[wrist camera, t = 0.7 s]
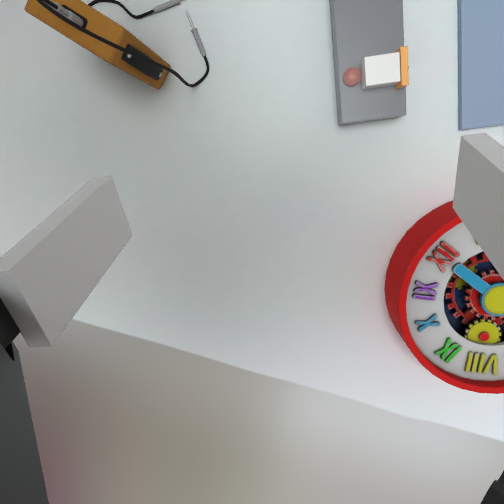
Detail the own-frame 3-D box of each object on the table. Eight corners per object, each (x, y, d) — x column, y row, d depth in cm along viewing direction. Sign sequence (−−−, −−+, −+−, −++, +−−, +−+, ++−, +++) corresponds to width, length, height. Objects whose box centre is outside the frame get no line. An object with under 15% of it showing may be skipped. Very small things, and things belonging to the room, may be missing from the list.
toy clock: (506, 428, 42) (357, 319, 40) (479, 395, 48) (347, 299, 46) (662, 284, 37) (500, 155, 36) (612, 267, 43) (470, 155, 41)
